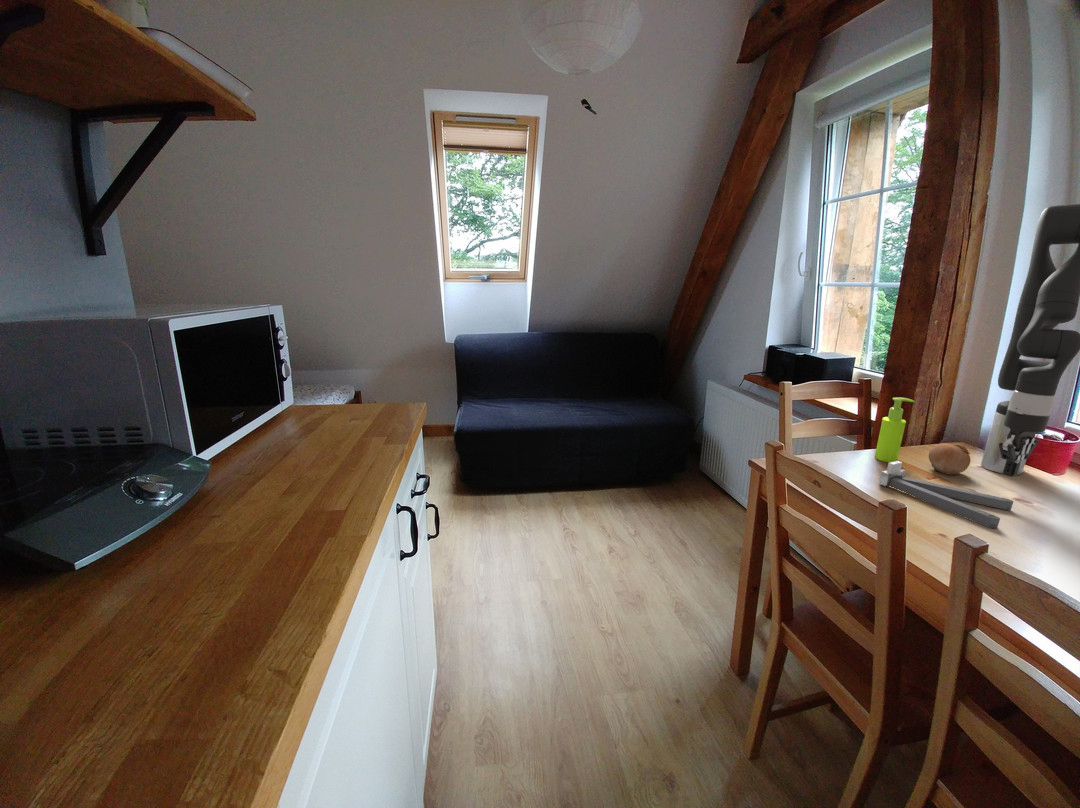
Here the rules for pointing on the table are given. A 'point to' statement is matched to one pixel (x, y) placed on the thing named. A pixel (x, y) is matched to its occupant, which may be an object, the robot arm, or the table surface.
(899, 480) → the base
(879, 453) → the soap dispenser
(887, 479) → the rail slider block
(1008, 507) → the bar
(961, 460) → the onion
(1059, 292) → the robot arm
